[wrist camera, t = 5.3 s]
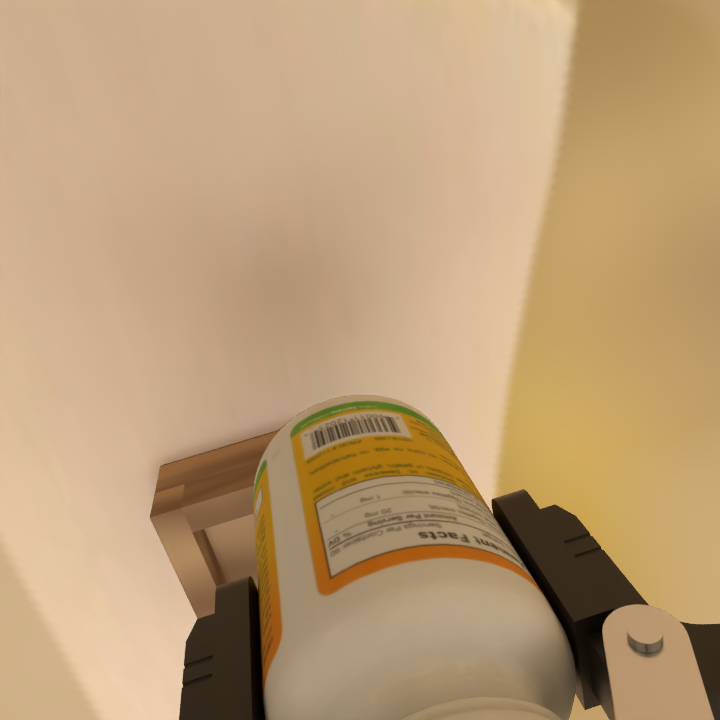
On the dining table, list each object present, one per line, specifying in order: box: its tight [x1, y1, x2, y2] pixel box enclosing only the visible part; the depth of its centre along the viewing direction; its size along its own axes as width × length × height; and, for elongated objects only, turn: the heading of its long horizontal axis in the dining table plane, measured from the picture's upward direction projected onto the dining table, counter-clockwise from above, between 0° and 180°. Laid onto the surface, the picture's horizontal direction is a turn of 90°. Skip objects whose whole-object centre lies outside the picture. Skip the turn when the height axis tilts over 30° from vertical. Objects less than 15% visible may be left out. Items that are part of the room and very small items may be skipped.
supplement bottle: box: [253, 395, 576, 720], centre depth 12 cm, size 5×5×10 cm
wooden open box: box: [150, 430, 280, 619], centre depth 34 cm, size 11×11×4 cm
